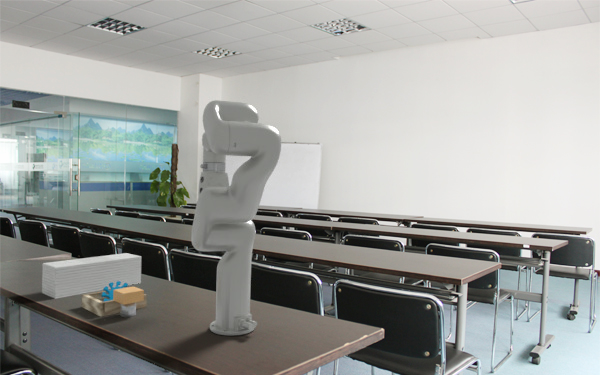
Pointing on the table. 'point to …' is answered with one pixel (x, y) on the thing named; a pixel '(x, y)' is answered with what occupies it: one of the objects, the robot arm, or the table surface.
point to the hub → (128, 295)
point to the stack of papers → (89, 274)
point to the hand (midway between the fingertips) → (212, 222)
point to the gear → (110, 292)
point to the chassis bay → (105, 304)
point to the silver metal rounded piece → (128, 310)
